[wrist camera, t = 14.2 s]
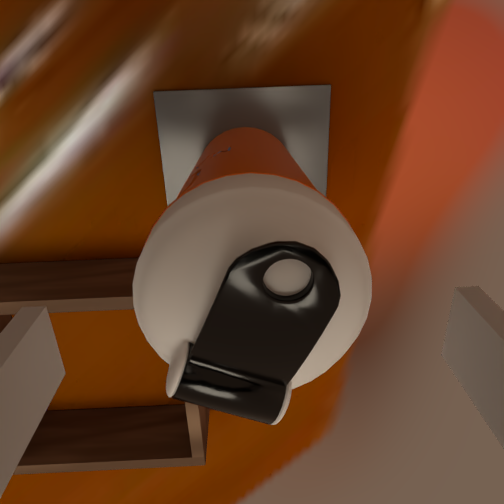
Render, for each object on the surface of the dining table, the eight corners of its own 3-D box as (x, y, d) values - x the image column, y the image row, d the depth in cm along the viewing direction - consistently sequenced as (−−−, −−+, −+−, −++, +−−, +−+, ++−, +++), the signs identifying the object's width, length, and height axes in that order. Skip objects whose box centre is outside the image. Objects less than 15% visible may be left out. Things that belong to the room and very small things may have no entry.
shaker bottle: (321, 128, 30) (446, 250, 12) (288, 241, 34) (345, 463, 16) (196, 99, 29) (126, 183, 11) (175, 218, 33) (99, 430, 15)
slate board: (154, 91, 29) (153, 91, 29) (330, 84, 29) (330, 85, 29) (174, 250, 34) (173, 252, 34) (323, 244, 34) (323, 245, 34)
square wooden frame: (-19, 264, 34) (-68, 305, 29) (193, 255, 34) (184, 294, 29) (35, 419, 41) (4, 474, 36) (209, 410, 42) (205, 465, 36)
